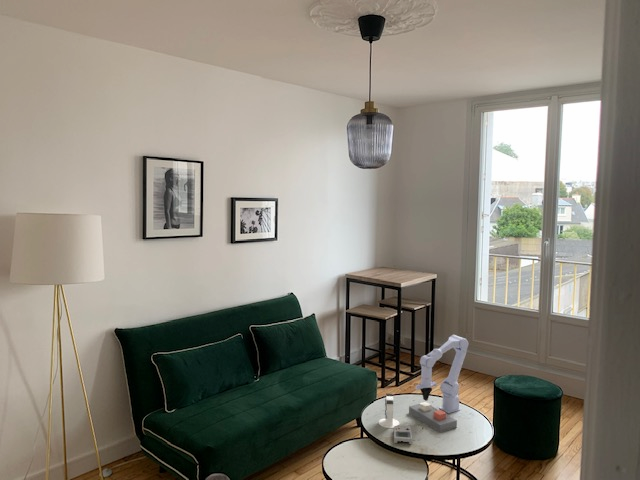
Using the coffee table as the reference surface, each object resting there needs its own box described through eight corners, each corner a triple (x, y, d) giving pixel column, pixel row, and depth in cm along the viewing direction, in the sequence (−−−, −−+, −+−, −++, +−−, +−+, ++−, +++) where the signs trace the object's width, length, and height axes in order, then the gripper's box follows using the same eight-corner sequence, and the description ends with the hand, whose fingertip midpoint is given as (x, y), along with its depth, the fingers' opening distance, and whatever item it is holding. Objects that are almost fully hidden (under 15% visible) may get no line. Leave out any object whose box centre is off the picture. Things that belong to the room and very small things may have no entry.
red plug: (433, 418, 269) (433, 411, 269) (439, 416, 272) (440, 409, 271) (439, 421, 265) (439, 414, 265) (445, 420, 268) (446, 413, 267)
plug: (419, 409, 280) (419, 403, 280) (425, 408, 282) (425, 401, 282) (424, 413, 276) (424, 406, 275) (431, 411, 278) (431, 404, 278)
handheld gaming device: (410, 432, 260) (410, 425, 260) (412, 445, 246) (412, 438, 246) (393, 431, 262) (393, 424, 261) (394, 444, 247) (394, 437, 247)
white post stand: (378, 417, 276) (379, 392, 275) (398, 418, 275) (399, 393, 274) (379, 427, 264) (379, 400, 263) (400, 428, 263) (400, 402, 262)
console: (408, 412, 283) (409, 406, 282) (424, 408, 288) (425, 402, 288) (439, 432, 260) (440, 425, 259) (456, 427, 266) (456, 420, 265)
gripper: (431, 372, 284) (430, 395, 285) (411, 376, 277) (411, 399, 278) (439, 376, 278) (438, 399, 279) (420, 380, 271) (419, 404, 272)
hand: (425, 399), depth 278 cm, fingers closed
